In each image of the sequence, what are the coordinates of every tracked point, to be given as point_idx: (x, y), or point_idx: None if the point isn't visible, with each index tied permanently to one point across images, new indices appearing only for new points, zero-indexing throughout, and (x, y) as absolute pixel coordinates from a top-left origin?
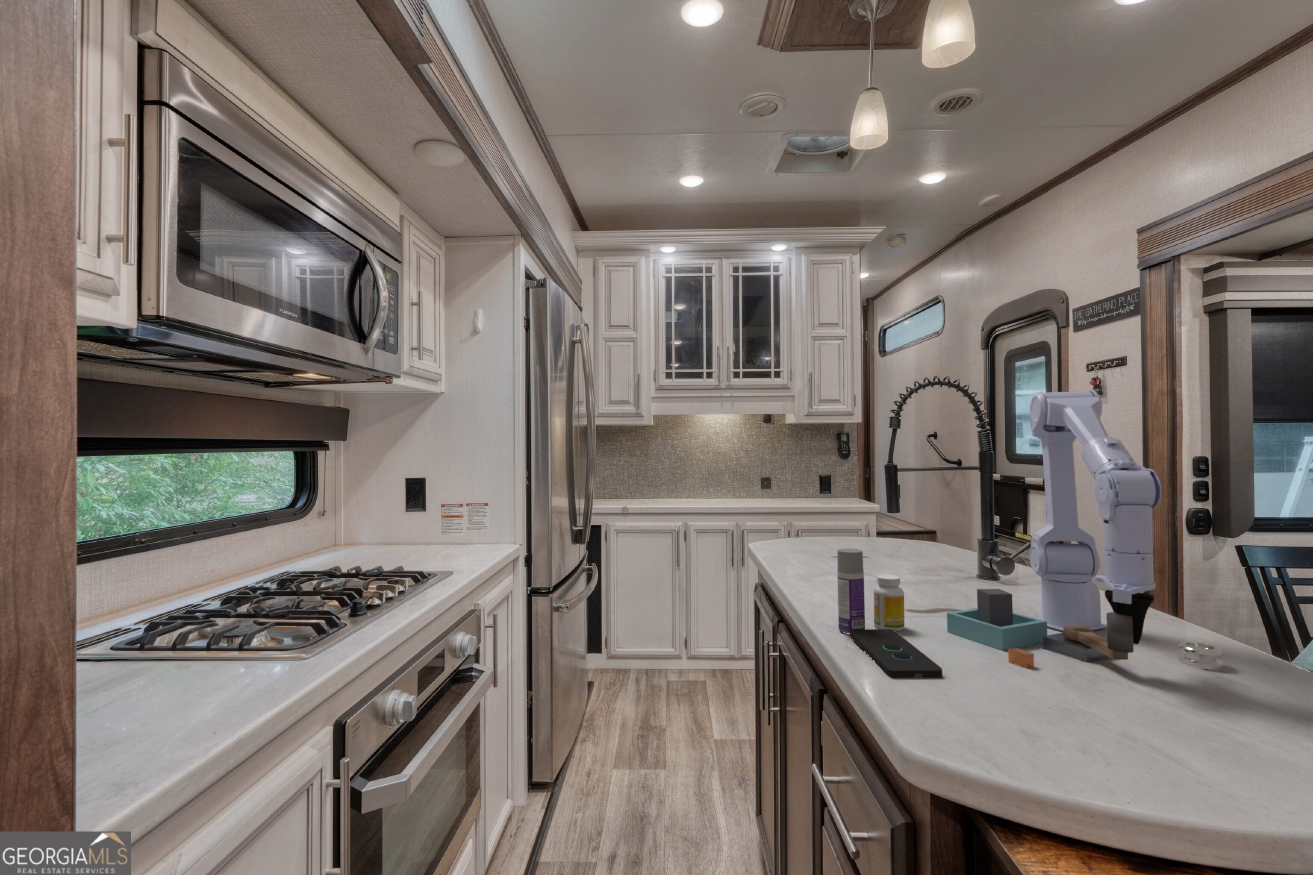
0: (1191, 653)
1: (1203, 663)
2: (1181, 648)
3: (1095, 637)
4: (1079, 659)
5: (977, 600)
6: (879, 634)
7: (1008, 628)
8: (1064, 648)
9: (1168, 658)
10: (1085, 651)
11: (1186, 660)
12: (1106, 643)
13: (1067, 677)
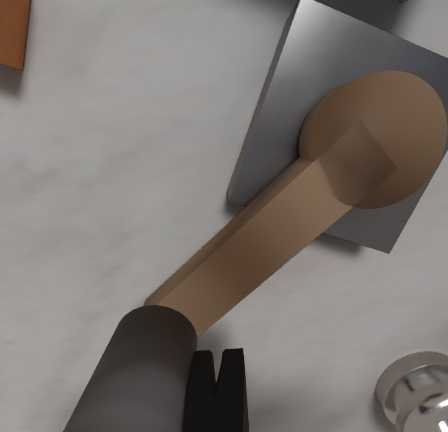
0: (402, 412)
1: (388, 407)
2: (427, 398)
3: (265, 241)
4: (235, 166)
5: None
6: None
7: None
8: (257, 112)
9: (429, 333)
10: (230, 194)
11: (395, 379)
12: (198, 291)
13: (18, 186)
